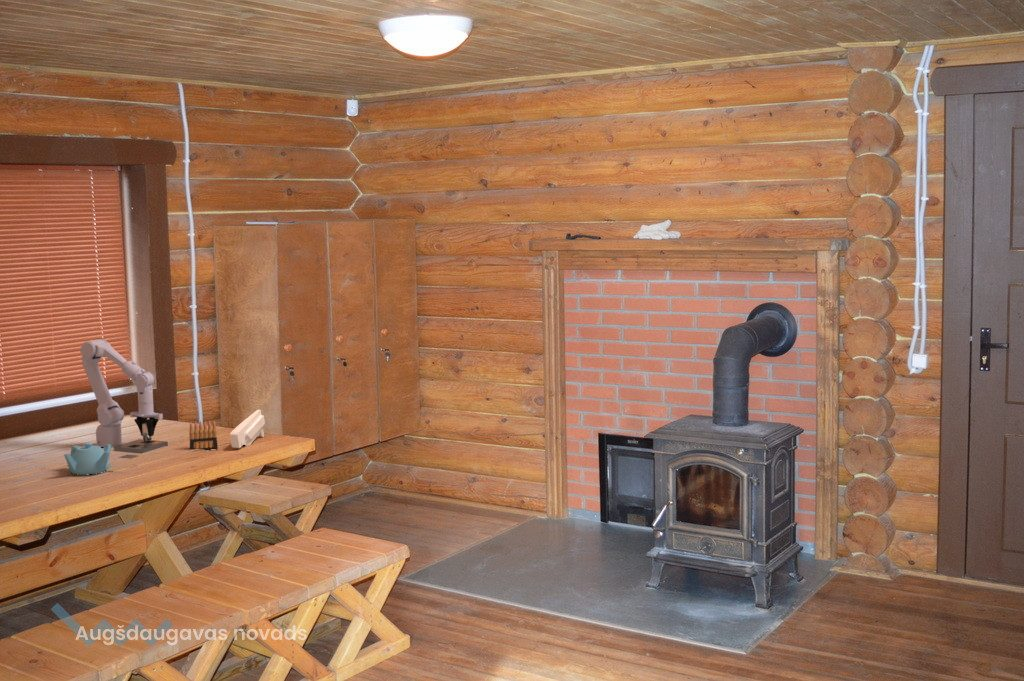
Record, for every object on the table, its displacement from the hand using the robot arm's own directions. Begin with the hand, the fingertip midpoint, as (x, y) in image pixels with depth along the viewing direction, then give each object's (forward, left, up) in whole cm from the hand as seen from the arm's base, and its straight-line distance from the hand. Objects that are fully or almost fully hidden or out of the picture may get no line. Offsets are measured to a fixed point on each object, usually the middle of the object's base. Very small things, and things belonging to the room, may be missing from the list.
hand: (147, 435), depth 424 cm
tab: (+6, -18, -5) cm, 20 cm away
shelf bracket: (+34, +21, -6) cm, 40 cm away
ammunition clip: (+24, +4, -5) cm, 25 cm away
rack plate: (0, -4, -5) cm, 6 cm away
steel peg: (0, 0, -2) cm, 2 cm away
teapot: (+6, -39, -5) cm, 40 cm away
